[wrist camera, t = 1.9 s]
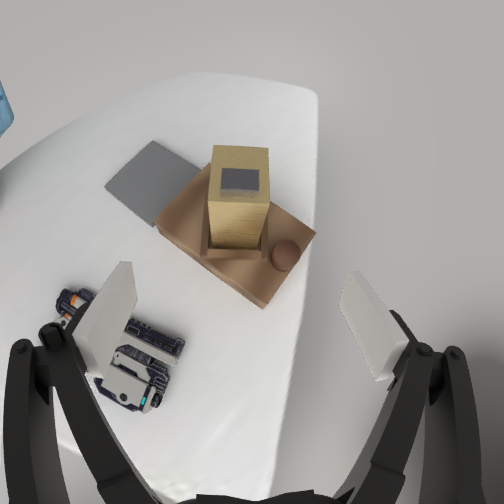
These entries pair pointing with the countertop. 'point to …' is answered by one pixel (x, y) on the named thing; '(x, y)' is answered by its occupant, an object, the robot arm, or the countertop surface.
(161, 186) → the mat
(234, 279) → the body
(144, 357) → the toy gun
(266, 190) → the labelled wooden block
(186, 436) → the countertop surface
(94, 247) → the countertop surface
